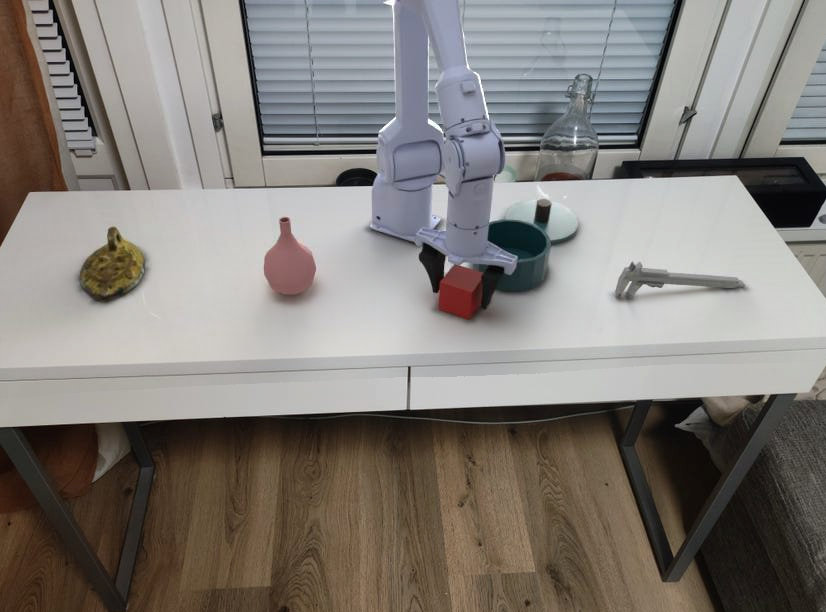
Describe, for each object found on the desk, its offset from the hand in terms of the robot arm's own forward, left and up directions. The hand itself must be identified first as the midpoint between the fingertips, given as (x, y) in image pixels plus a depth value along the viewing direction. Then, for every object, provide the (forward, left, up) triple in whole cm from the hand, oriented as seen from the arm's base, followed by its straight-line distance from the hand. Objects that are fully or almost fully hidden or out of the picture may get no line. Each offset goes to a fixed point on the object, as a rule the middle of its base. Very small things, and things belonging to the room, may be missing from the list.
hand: (461, 297), depth 110 cm
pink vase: (-24, -8, -2) cm, 26 cm away
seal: (-50, -18, -2) cm, 53 cm away
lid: (+3, +26, -1) cm, 26 cm away
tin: (+3, +12, -2) cm, 12 cm away
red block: (0, 0, -2) cm, 2 cm away
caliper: (+28, +19, -2) cm, 33 cm away
